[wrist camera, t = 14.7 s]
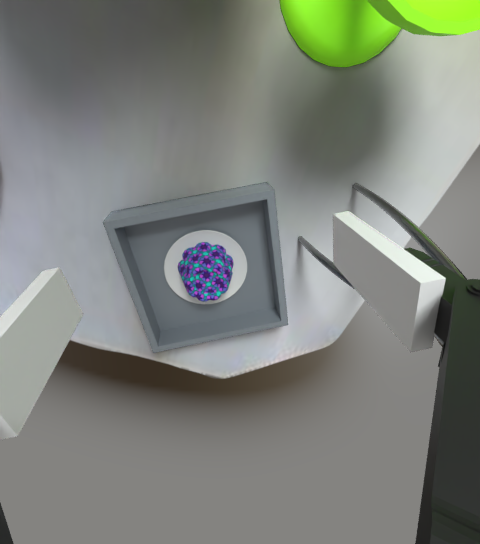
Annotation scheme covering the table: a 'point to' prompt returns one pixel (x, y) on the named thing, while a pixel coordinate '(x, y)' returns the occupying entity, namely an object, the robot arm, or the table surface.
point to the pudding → (205, 267)
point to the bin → (190, 218)
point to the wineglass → (371, 25)
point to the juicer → (406, 224)
